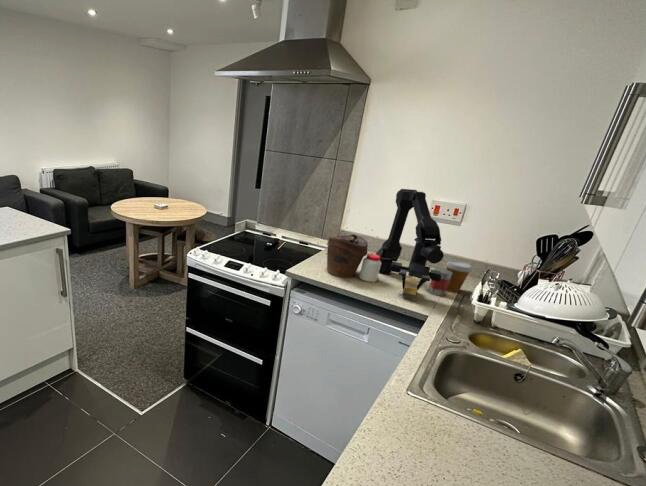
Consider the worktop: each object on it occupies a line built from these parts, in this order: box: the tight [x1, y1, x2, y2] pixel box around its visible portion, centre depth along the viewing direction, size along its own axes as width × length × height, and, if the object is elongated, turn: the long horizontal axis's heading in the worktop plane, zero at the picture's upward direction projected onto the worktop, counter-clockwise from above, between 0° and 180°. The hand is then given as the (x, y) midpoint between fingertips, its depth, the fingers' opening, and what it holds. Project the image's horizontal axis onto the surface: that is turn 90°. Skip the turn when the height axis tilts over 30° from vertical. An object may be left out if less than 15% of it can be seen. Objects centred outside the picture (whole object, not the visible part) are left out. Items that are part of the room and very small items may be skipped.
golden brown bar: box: [401, 277, 419, 301], centre depth 163 cm, size 4×13×4 cm, turn 153°
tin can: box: [427, 267, 452, 297], centre depth 167 cm, size 7×7×10 cm
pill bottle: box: [358, 253, 381, 283], centre depth 176 cm, size 8×8×11 cm
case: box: [325, 234, 368, 278], centre depth 179 cm, size 18×20×18 cm
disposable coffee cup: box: [445, 260, 472, 293], centre depth 171 cm, size 10×10×12 cm
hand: (409, 290), depth 163 cm, fingers closed on golden brown bar, 4 cm apart
